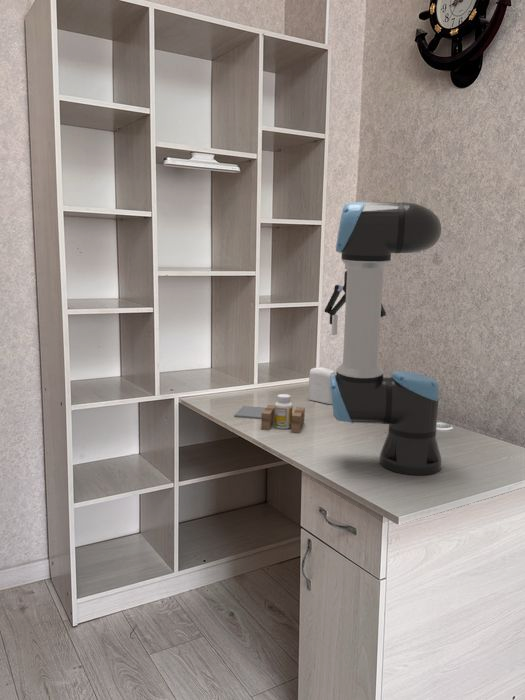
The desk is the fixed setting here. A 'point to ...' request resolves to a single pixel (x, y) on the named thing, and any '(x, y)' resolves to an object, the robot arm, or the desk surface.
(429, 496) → the desk surface
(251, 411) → the slate mat
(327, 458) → the desk surface
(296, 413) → the brown blocks
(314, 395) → the photo printer
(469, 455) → the desk surface
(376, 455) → the desk surface
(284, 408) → the supplement bottle
